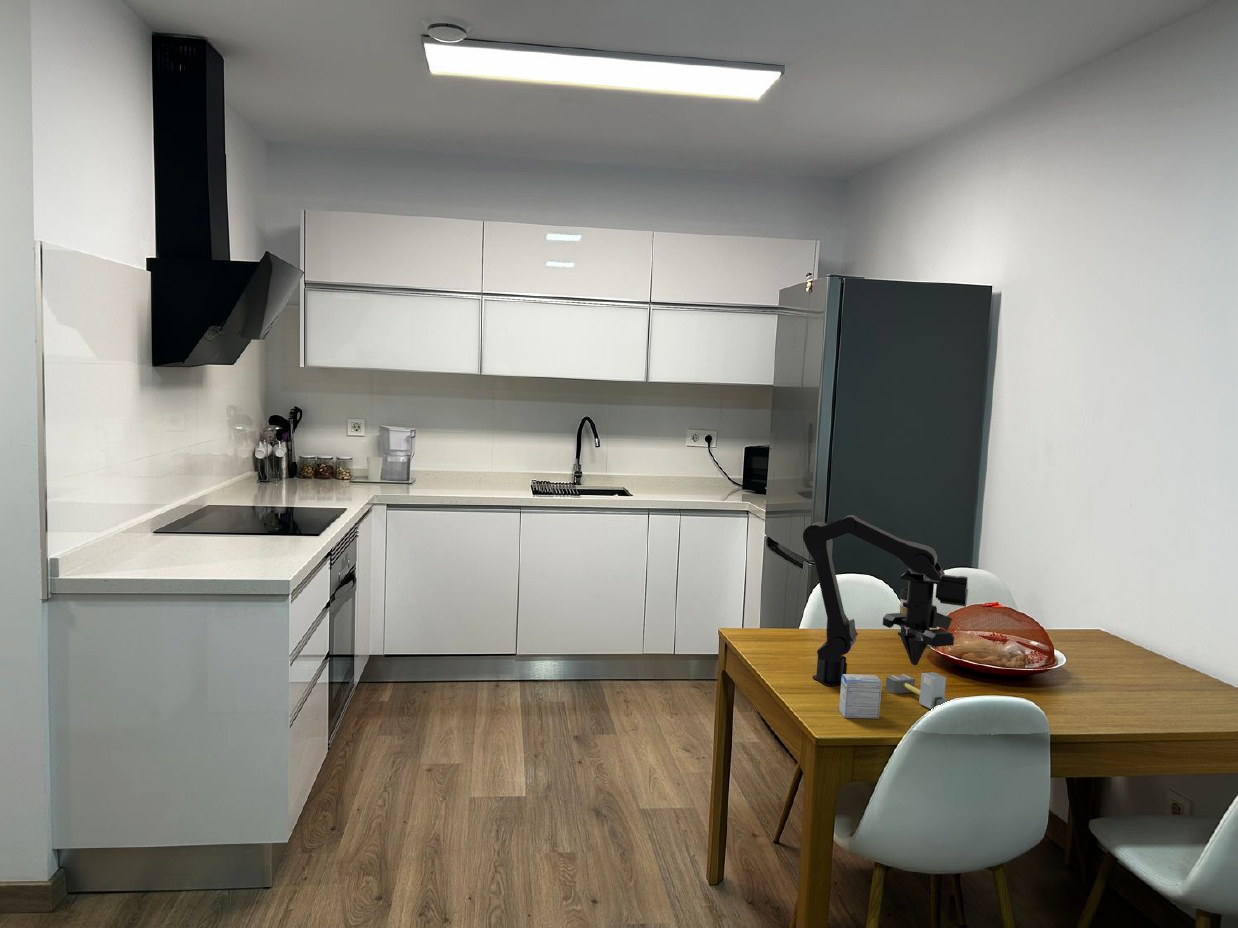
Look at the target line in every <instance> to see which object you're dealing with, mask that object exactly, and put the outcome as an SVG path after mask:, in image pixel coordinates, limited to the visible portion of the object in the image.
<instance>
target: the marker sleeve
mask: <svg viewBox="0 0 1238 928" xmlns="http://www.w3.org/2000/svg"><path fill="white" fill-rule="evenodd" d="M920 675H921V679H920V688H919V690H920V695H919V701H918V703H919V704H920V705H922V706H924V707H925V708H928V709H930V710H933V709H932V708H934V707H935V706H936V705H935V703H934V697H935V698H941V699H945V695H946V685H947V684H946V682H947V677H946V676H943V675H941V674H939V673H937V672H935V671H934V672H933V671H931V672H921V674H920Z"/></svg>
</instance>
